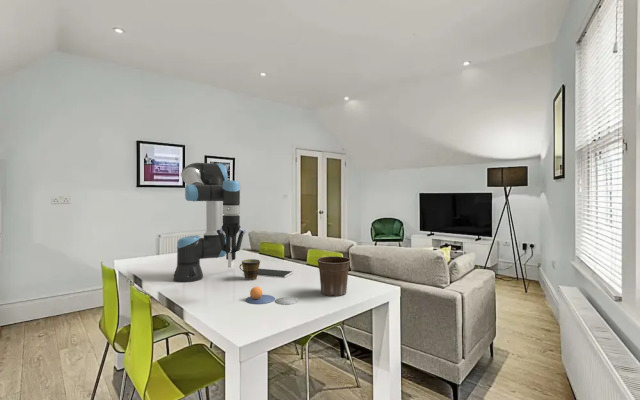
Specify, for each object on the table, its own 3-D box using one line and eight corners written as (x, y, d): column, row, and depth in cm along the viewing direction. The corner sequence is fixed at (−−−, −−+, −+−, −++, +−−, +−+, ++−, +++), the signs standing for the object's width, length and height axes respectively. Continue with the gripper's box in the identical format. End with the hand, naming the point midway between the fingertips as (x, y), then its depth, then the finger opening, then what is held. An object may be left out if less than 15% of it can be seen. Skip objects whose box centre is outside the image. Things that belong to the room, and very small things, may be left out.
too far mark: (272, 303, 142) (272, 303, 142) (278, 296, 152) (278, 296, 152) (295, 305, 140) (295, 304, 140) (300, 298, 150) (300, 297, 150)
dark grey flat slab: (285, 279, 187) (285, 276, 187) (243, 275, 195) (243, 272, 195) (294, 274, 199) (294, 271, 199) (254, 270, 207) (254, 267, 207)
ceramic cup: (251, 275, 191) (251, 258, 191) (263, 278, 186) (263, 260, 185) (233, 280, 181) (233, 262, 181) (245, 283, 175) (246, 264, 175)
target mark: (240, 303, 142) (240, 302, 142) (251, 294, 155) (251, 293, 155) (270, 304, 140) (270, 304, 140) (278, 295, 153) (278, 295, 153)
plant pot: (335, 300, 148) (335, 264, 147) (309, 293, 158) (309, 259, 158) (357, 292, 160) (357, 259, 159) (331, 286, 170) (332, 255, 170)
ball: (256, 303, 145) (246, 296, 146) (260, 299, 151) (250, 293, 151) (262, 293, 145) (252, 286, 145) (266, 289, 150) (255, 282, 151)
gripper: (213, 215, 147) (213, 268, 147) (241, 215, 145) (241, 269, 145) (221, 214, 154) (220, 264, 155) (248, 214, 152) (247, 265, 153)
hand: (230, 266), depth 150 cm, fingers closed
